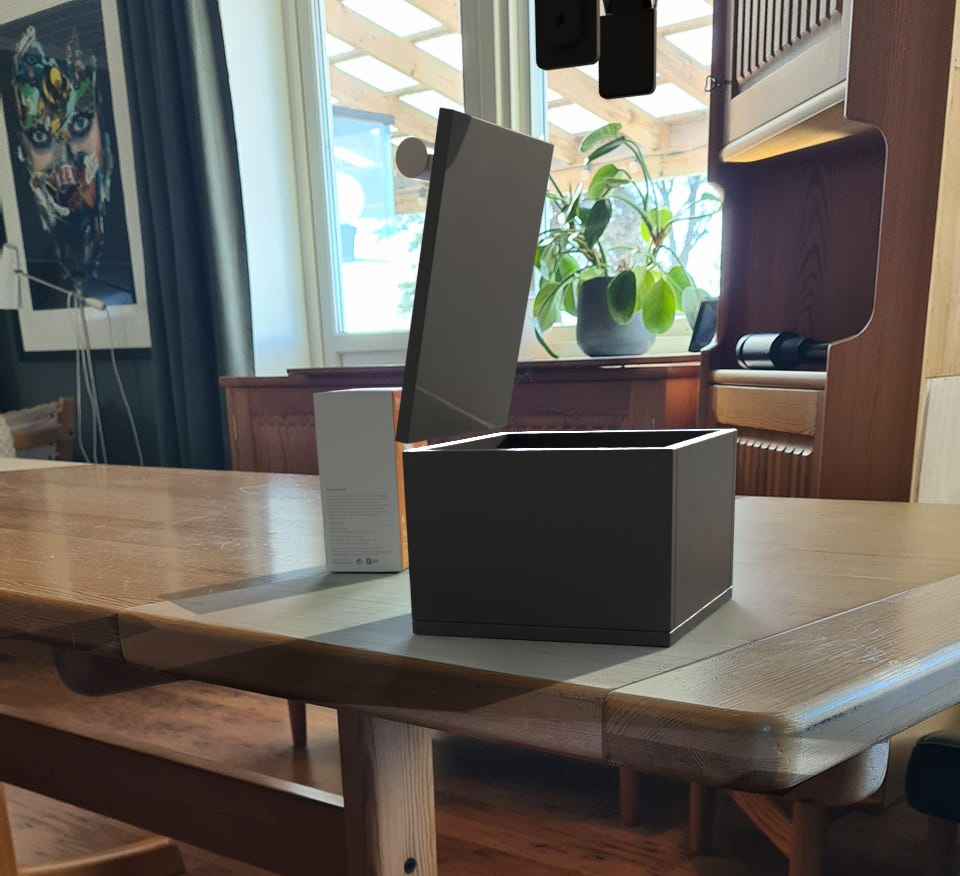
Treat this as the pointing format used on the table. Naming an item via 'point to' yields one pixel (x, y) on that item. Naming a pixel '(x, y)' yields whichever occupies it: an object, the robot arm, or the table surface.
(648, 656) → the table surface
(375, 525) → the small box
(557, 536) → the chest
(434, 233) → the lid
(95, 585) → the table surface
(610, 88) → the robot arm
